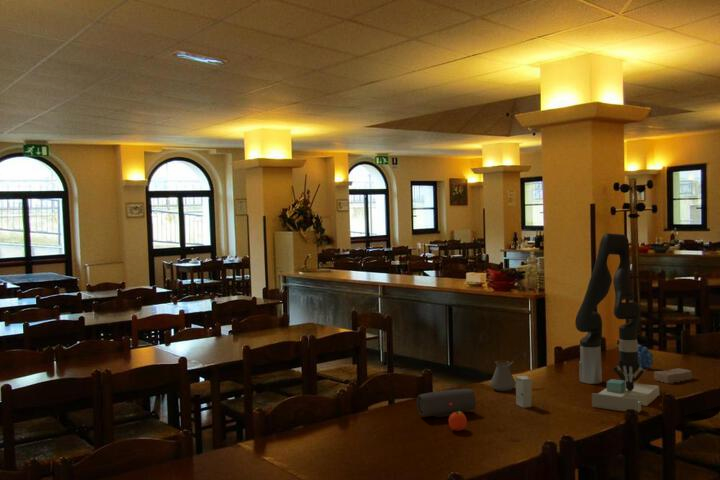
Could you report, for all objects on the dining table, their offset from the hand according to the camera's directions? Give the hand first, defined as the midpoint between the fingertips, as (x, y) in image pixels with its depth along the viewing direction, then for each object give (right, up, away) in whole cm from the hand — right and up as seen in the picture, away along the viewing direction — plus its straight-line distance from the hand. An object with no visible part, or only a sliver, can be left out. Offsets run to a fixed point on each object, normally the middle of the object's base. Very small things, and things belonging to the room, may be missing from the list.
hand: (630, 390), depth 277 cm
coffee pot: (-44, -6, +31) cm, 54 cm away
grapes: (+29, -2, +56) cm, 63 cm away
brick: (+33, -3, +31) cm, 46 cm away
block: (-5, -1, +3) cm, 6 cm away
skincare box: (-45, -7, 0) cm, 45 cm away
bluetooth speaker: (-79, -9, -8) cm, 80 cm away
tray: (-1, -5, +1) cm, 5 cm away
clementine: (-77, -9, -28) cm, 82 cm away
